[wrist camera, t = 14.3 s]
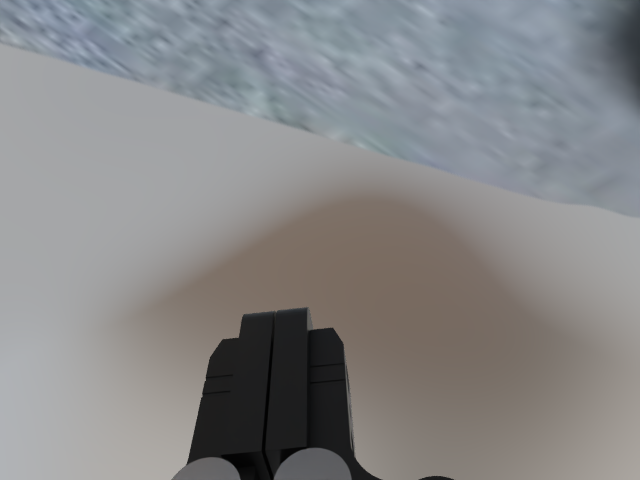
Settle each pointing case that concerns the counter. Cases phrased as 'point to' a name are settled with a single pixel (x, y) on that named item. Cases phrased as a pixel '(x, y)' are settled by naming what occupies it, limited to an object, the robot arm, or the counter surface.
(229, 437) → the robot arm
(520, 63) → the counter surface
